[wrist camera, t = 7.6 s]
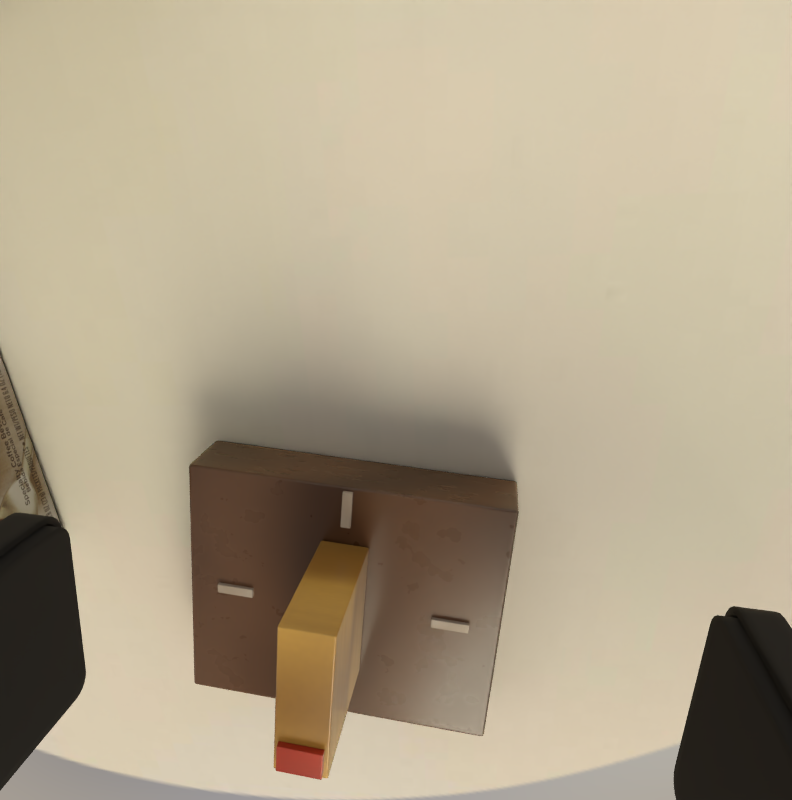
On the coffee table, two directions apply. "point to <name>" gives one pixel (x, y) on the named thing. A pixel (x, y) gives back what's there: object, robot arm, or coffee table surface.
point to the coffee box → (19, 461)
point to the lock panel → (385, 584)
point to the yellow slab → (319, 659)
